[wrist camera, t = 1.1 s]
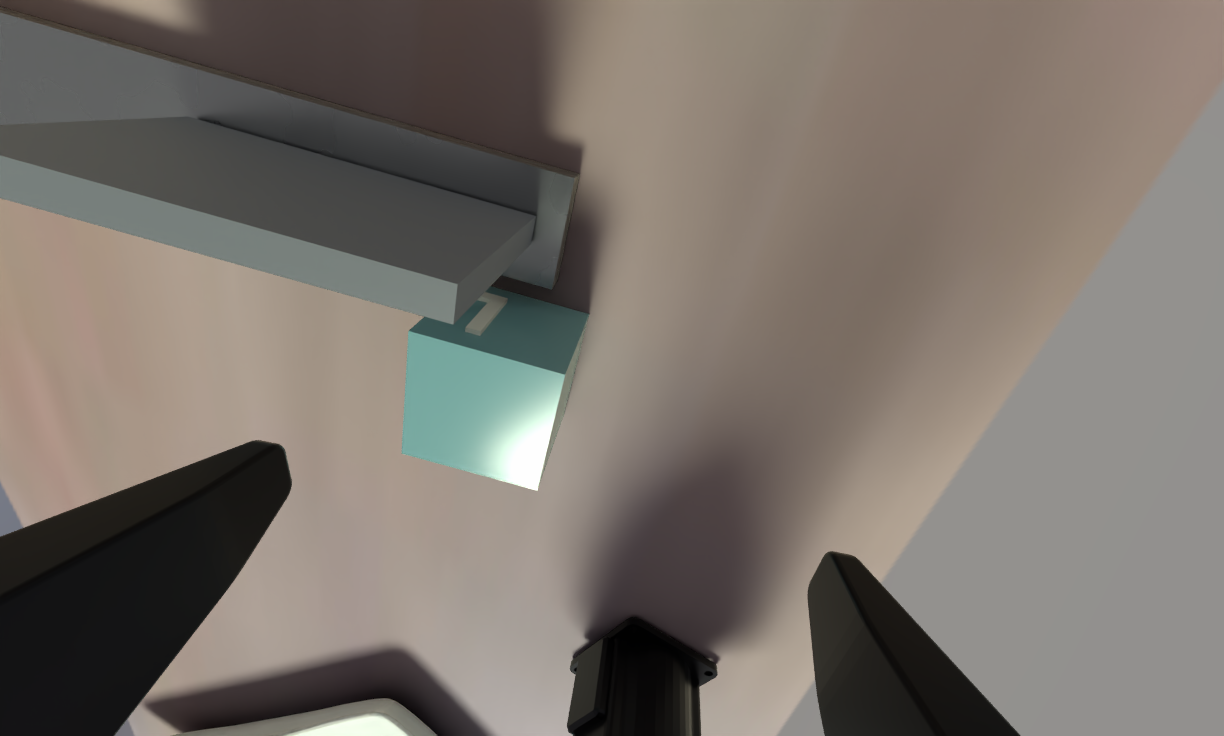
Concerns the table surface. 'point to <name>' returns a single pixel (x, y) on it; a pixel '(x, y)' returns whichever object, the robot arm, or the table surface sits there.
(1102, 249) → the table surface
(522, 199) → the rail
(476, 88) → the table surface
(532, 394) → the cube
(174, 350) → the table surface
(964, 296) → the table surface
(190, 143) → the screen
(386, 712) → the square plate
